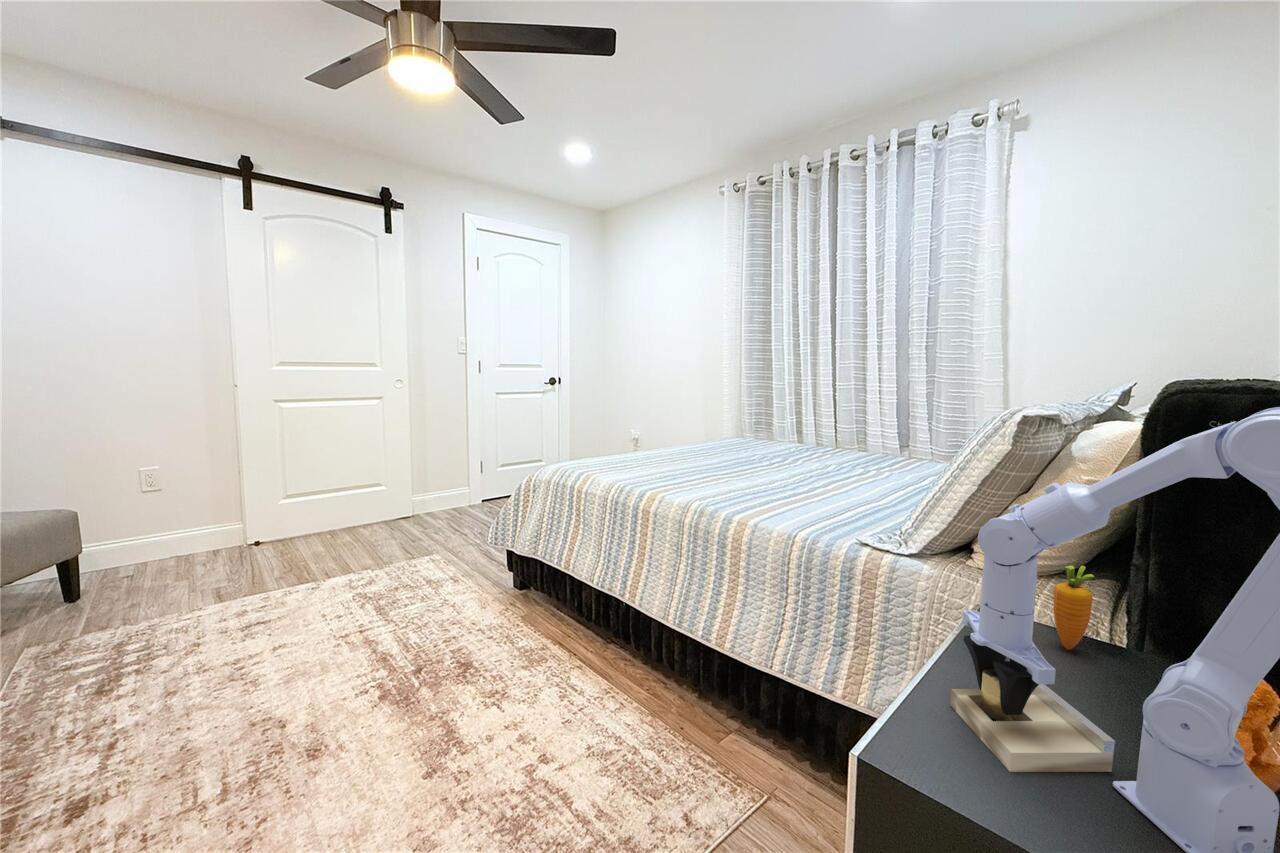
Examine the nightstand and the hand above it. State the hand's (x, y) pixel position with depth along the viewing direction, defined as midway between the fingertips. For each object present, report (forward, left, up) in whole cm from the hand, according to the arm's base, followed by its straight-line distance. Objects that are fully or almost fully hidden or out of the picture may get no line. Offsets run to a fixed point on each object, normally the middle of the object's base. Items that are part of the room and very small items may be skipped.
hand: (999, 701), depth 68 cm
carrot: (+18, -24, -4) cm, 30 cm away
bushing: (0, 0, -1) cm, 1 cm away
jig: (-2, -2, -3) cm, 4 cm away
